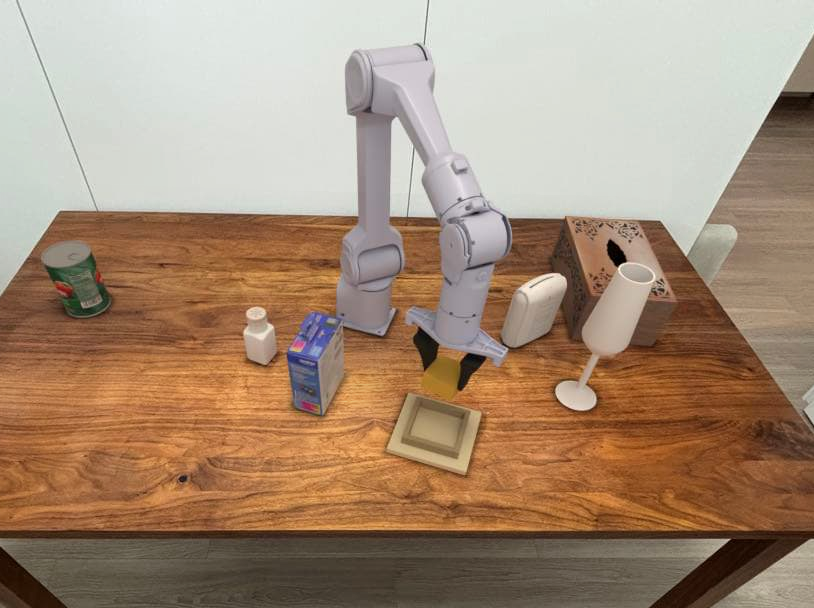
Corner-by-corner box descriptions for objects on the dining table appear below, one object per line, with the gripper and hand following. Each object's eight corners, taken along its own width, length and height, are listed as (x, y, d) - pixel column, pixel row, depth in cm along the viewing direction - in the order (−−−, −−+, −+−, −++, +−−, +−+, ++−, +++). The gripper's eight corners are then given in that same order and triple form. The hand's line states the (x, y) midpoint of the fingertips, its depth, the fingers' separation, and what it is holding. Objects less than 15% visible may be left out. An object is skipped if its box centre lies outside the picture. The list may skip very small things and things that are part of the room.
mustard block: (421, 386, 79) (423, 372, 76) (438, 367, 82) (440, 353, 79) (450, 402, 77) (454, 387, 75) (467, 381, 80) (470, 367, 77)
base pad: (386, 452, 80) (387, 442, 78) (408, 396, 87) (409, 385, 85) (465, 475, 77) (468, 466, 75) (480, 415, 85) (484, 405, 83)
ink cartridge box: (314, 366, 91) (311, 297, 80) (345, 374, 90) (345, 305, 79) (290, 407, 85) (283, 339, 74) (323, 417, 84) (320, 348, 73)
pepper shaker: (278, 352, 93) (273, 309, 85) (266, 367, 90) (260, 324, 83) (259, 345, 94) (252, 302, 86) (246, 359, 91) (238, 316, 84)
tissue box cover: (651, 346, 97) (677, 302, 89) (571, 340, 97) (590, 295, 90) (618, 263, 114) (638, 221, 106) (550, 258, 114) (565, 215, 107)
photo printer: (536, 319, 101) (556, 263, 92) (553, 332, 99) (575, 275, 89) (496, 338, 97) (512, 281, 88) (512, 352, 95) (531, 295, 85)
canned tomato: (56, 311, 98) (29, 259, 90) (86, 287, 103) (63, 236, 94) (91, 322, 96) (67, 271, 88) (120, 297, 101) (100, 246, 93)
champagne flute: (574, 416, 85) (637, 294, 67) (546, 388, 89) (599, 265, 71) (605, 402, 88) (674, 280, 69) (577, 375, 91) (635, 253, 73)
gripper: (527, 309, 67) (502, 383, 78) (428, 268, 73) (417, 342, 83) (503, 339, 64) (480, 413, 74) (400, 293, 69) (392, 368, 79)
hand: (445, 378), depth 78 cm, fingers closed on mustard block, 5 cm apart
